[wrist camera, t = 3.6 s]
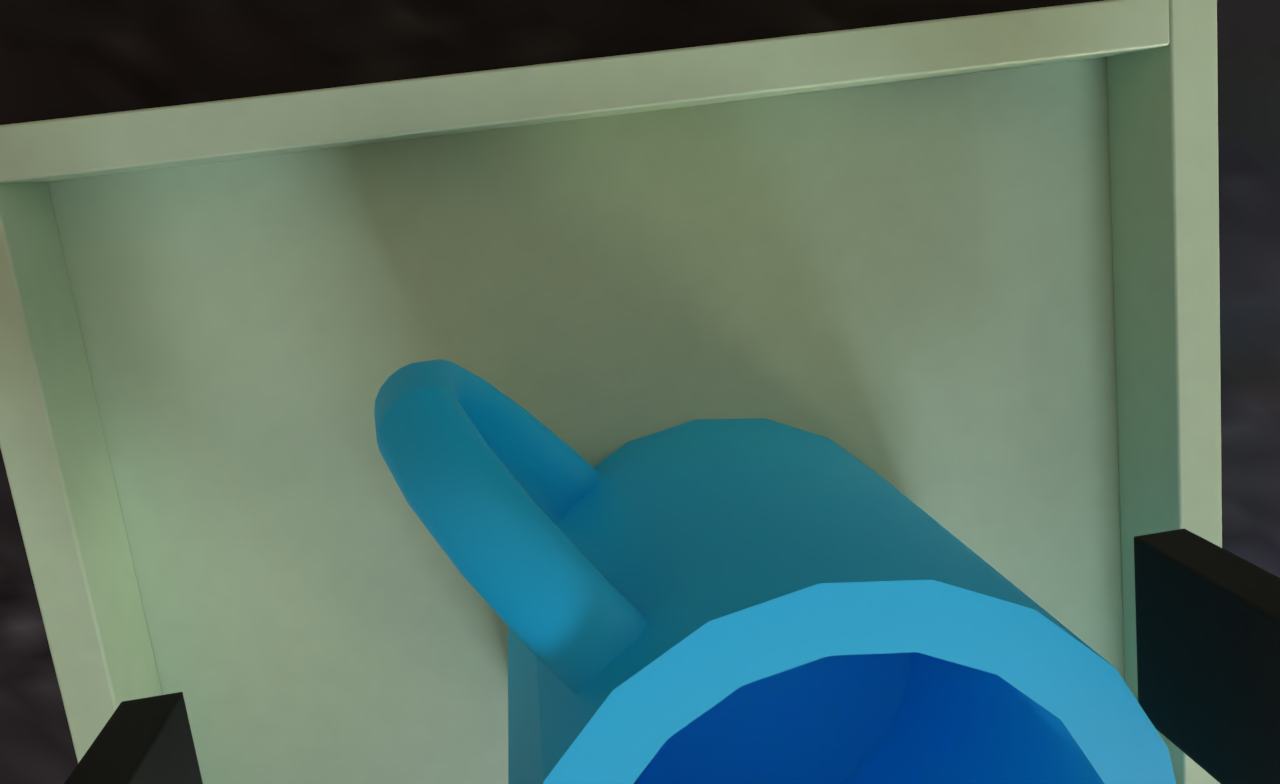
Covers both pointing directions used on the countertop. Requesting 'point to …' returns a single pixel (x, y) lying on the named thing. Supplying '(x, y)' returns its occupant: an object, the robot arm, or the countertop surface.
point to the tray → (595, 341)
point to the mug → (744, 610)
